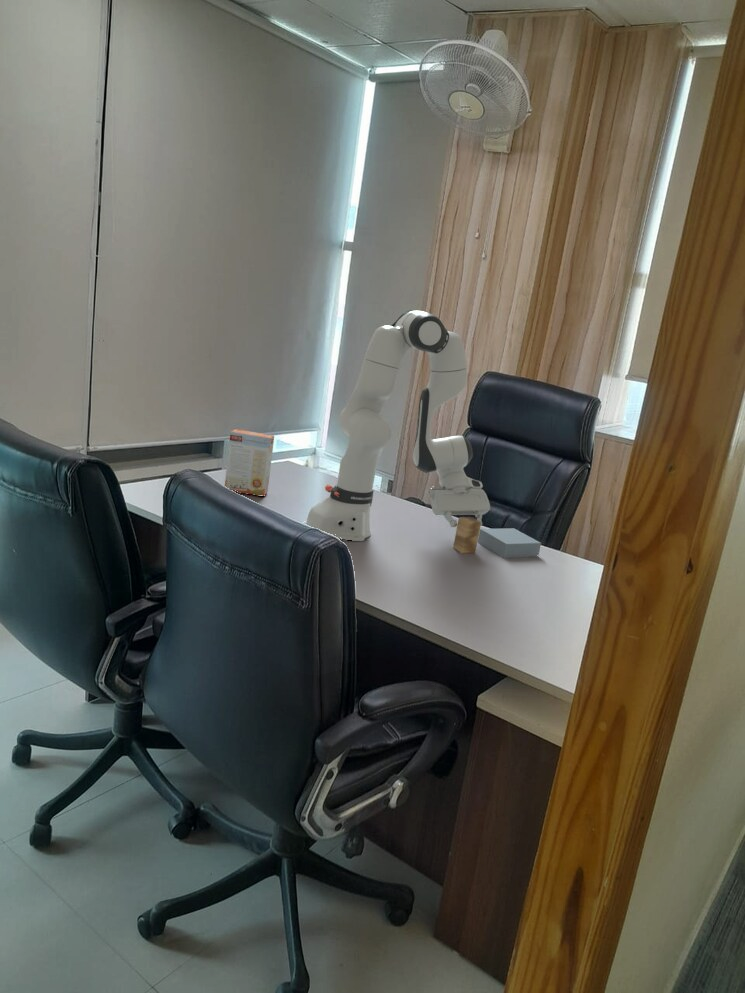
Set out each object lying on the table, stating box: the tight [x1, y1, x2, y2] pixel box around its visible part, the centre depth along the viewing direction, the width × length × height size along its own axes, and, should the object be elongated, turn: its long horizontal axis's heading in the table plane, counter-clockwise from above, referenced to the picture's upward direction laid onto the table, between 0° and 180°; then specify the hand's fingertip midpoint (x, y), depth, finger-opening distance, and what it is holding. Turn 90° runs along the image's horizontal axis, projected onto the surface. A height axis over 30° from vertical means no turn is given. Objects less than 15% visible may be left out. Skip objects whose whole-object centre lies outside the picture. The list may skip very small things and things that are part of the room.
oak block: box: [452, 516, 482, 554], centre depth 244 cm, size 5×5×10 cm
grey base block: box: [477, 527, 542, 559], centre depth 253 cm, size 14×14×5 cm
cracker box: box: [224, 428, 275, 496], centre depth 267 cm, size 14×6×21 cm, turn 84°
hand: (466, 526), depth 245 cm, fingers open, 8 cm apart
